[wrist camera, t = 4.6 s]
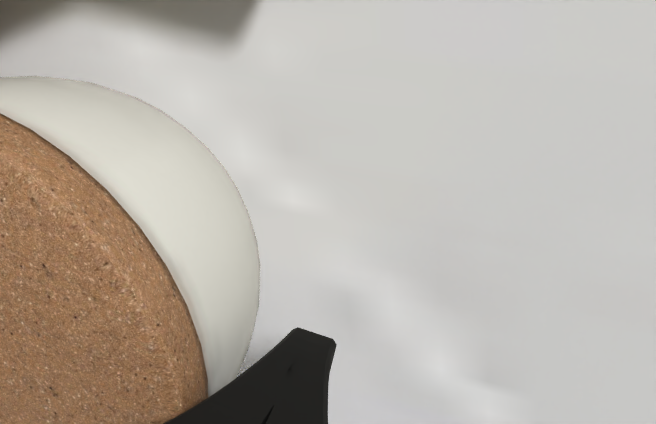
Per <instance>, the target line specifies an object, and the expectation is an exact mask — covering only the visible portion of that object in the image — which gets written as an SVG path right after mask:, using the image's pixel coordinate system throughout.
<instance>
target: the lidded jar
mask: <svg viewBox="0 0 656 424" xmlns="http://www.w3.org/2000/svg"><path fill="white" fill-rule="evenodd" d="M259 294H260V259H259V252H258V244H257V239H256V236H255V232H254V229H253V225H252V222H251V219H250V215H249V213H248V210H247V208H246V206H245V204H244V201H243V199H242V197H241V195H240V193H239V190H238V188H237V187H236V185H235V183H234V182H233V180H232V179H231V177H230V176H229V174H228V172H227V171H226V169H225V168H224V166H223V165H222V164H221V163H220V161H219V160H218V159H217V158H216V157H215V155H214V154H213V153H212V152H211V151H210V149H209V148H208V147H207V146H206V145H205V144H204V143H202V142H201V141H200V140H199V139H198V138H197V137H196V136H195V135H194V134H193V133H192V132H190V131H189V130H188V129H187V128H186V127H184V126H183V125H182V124H180V123H179V122H177V121H176V120H175V119H173V118H172V117H170V116H169V115H167V114H166V113H165V112H163V111H162V110H160V109H158V108H156V107H154V106H152V105H150V104H148V103H146V102H144V101H142V100H140V99H138V98H136V97H134V96H131V95H128V94H125V93H122V92H118V91H115V90H112V89H109V88H106V87H103V86H100V85H97V84H94V83H90V82H83V81H77V80H70V79H62V78H52V77H41V76H20V77H0V424H163V423H165V422H167V421H169V420H171V419H173V418H175V417H177V416H178V415H180V414H182V413H184V412H185V411H187V410H189V409H191V408H192V407H194V406H196V405H197V404H199V403H200V402H202V401H204V400H205V399H207V398H208V397H210V396H211V395H213V394H214V393H216V392H217V391H219V390H220V389H221V388H223V387H224V386H226V385H227V384H229V383H230V382H231V381H233V380H234V379H236V377H237V375H238V372H239V370H240V368H241V365H242V363H243V361H244V358H245V356H246V354H247V351H248V348H249V344H250V341H251V337H252V333H253V330H254V326H255V321H256V317H257V312H258V307H259Z"/></svg>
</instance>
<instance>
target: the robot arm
mask: <svg viewBox="0 0 656 424" xmlns="http://www.w3.org/2000/svg"><path fill="white" fill-rule="evenodd" d="M335 349H336V343H335V341H334V340H333V339H331V338H328V337H325V336H322V335H319V334H316V333H313V332H310V331H307V330H304V329H301V328H295V329H293V330H292V331H291V332H290V333H289V334H288V335H287V336H286V337H285V338H284V339H283V340H282V341H281V342H280V343H279V344H277V345H276V346H275V347H274V348H273V349H272V350H271V351H270V352H268V353H267V354H266V355H265V356H264V357H263V358H261V359H260V360H259V361H258V362H256V363H255V364H254V365H253V366H251V367H250V368H249V369H247V370H246V371H245V372H244V373H242V374H241V375H240V376H238V377H237V378H236V379H234V380H233V381H231V382H230V383H229V384H227V385H226V386H224V387H223V388H221V389H220V390H219V391H217V392H216V393H214V394H213V395H211V396H210V397H208V398H207V399H205V400H204V401H202V402H200V403H199V404H197V405H196V406H194V407H192V408H191V409H189V410H187V411H185V412H184V413H182V414H180V415H178V416H177V417H175V418H173V419H171V420H169V421H167V422H165V423H163V424H328V381H329V373H330V369H331V365H332V361H333V357H334V353H335Z"/></svg>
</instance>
